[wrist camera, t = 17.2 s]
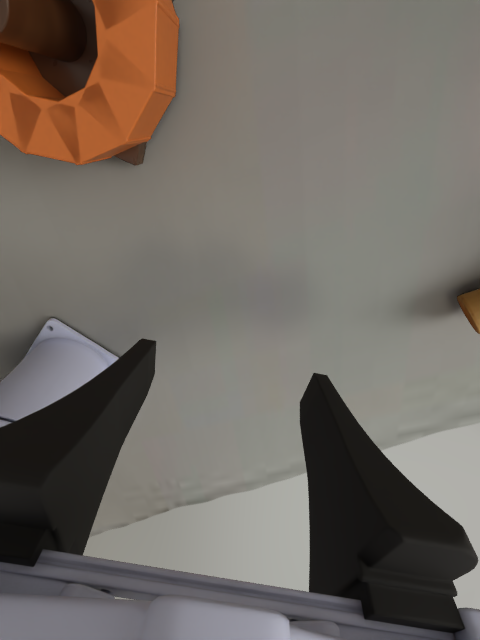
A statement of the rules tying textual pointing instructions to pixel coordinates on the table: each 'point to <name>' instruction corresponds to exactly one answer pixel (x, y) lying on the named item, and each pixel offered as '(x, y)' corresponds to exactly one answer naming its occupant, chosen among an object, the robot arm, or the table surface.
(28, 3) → the stand
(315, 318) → the table surface
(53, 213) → the table surface
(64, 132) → the ring
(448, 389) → the table surface
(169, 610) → the robot arm
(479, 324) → the kendama
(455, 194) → the table surface
